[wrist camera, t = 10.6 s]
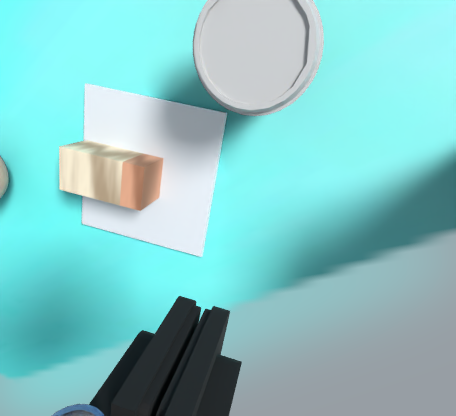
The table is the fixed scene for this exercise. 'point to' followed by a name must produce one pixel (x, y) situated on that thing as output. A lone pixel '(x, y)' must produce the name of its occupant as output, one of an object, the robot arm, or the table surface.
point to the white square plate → (172, 165)
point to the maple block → (110, 174)
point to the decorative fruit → (3, 177)
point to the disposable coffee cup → (257, 52)
